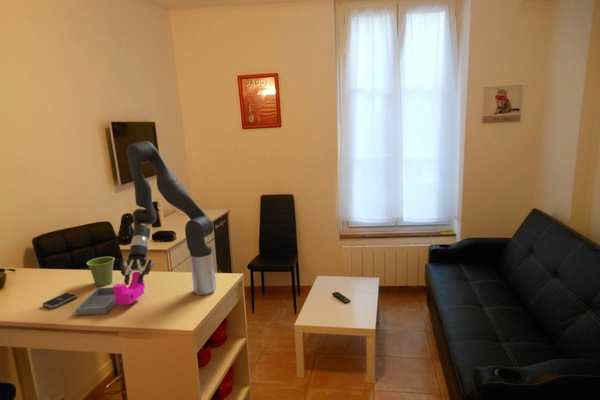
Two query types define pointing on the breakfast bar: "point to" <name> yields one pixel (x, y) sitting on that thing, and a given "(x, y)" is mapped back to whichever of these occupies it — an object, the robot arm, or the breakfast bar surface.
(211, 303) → the breakfast bar surface
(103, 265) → the plant pot
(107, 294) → the tray
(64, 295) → the external hard drive
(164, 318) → the breakfast bar surface
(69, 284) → the breakfast bar surface
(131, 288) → the toy block
